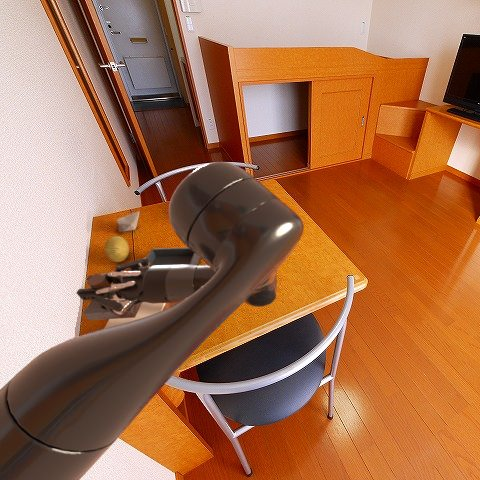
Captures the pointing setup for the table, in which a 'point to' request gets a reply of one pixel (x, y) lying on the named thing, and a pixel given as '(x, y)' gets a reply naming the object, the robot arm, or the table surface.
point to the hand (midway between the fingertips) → (85, 287)
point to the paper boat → (128, 222)
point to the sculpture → (117, 249)
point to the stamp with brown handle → (93, 308)
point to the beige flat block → (141, 312)
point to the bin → (172, 256)
